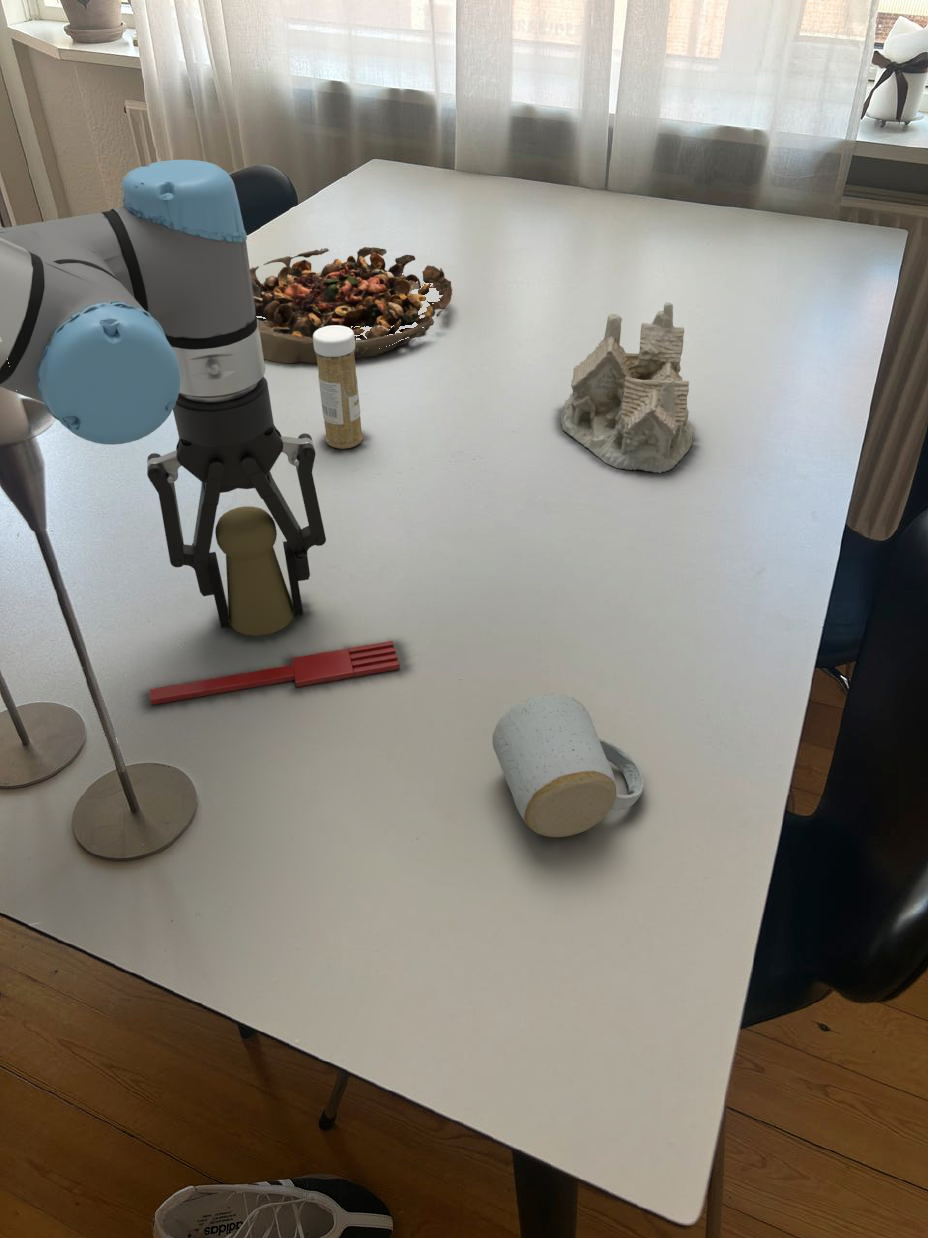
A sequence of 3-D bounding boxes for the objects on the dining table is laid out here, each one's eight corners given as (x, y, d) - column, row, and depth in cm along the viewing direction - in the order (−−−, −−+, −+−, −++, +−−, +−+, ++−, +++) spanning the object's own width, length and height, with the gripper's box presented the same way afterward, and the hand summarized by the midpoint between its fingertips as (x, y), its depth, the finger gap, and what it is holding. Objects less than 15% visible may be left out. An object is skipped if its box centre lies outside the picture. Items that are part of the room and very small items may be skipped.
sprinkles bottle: (370, 443, 114) (361, 334, 105) (336, 454, 112) (324, 344, 103) (351, 427, 117) (341, 320, 108) (318, 437, 115) (305, 329, 106)
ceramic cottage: (573, 392, 122) (585, 279, 112) (702, 419, 118) (726, 303, 108) (536, 459, 112) (544, 340, 102) (675, 490, 108) (699, 369, 97)
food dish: (438, 275, 157) (439, 226, 152) (466, 366, 133) (467, 312, 128) (219, 280, 153) (212, 230, 148) (205, 376, 128) (197, 319, 123)
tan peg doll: (216, 613, 90) (193, 514, 83) (270, 586, 93) (253, 488, 86) (251, 645, 86) (231, 544, 79) (307, 615, 89) (292, 516, 82)
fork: (151, 712, 80) (149, 707, 80) (151, 686, 82) (149, 681, 82) (399, 669, 84) (399, 664, 83) (393, 645, 86) (392, 640, 86)
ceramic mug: (522, 855, 69) (528, 784, 64) (489, 770, 75) (492, 699, 70) (659, 824, 71) (675, 752, 66) (617, 744, 77) (628, 673, 72)
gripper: (87, 419, 70) (156, 655, 85) (346, 388, 73) (369, 620, 88) (92, 375, 76) (155, 603, 91) (332, 347, 79) (356, 572, 94)
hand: (261, 611), depth 89 cm, fingers closed on tan peg doll, 6 cm apart
